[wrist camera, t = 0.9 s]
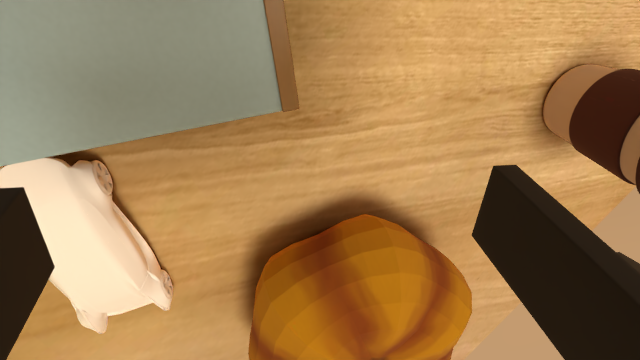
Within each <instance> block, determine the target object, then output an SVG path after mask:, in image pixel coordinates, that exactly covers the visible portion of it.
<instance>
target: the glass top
mask: <svg viewBox="0 0 640 360" xmlns="http://www.w3.org/2000/svg"><path fill="white" fill-rule="evenodd" d="M296 109H299V101H298V95H297V88H296V81H295V75H294V68H293V61H292V55H291V48H290V42H289V35H288V28H287V22H286V15H285V8H284V2H283V0H0V167H1V166H6V165H11V164H16V163H21V162H26V161H31V160H36V159H41V158H46V157H51V156H56V155H61V154H66V153H72V152H77V151H82V150H87V149H92V148H97V147H102V146H107V145H112V144H117V143H122V142H127V141H132V140H137V139H142V138H147V137H153V136H158V135H163V134H168V133H173V132H178V131H183V130H188V129H193V128H198V127H203V126H208V125H213V124H218V123H223V122H229V121H234V120H239V119H244V118H249V117H254V116H259V115H264V114H269V113H274V112H279V111H283V112H286V111H291V110H296Z"/></svg>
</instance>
